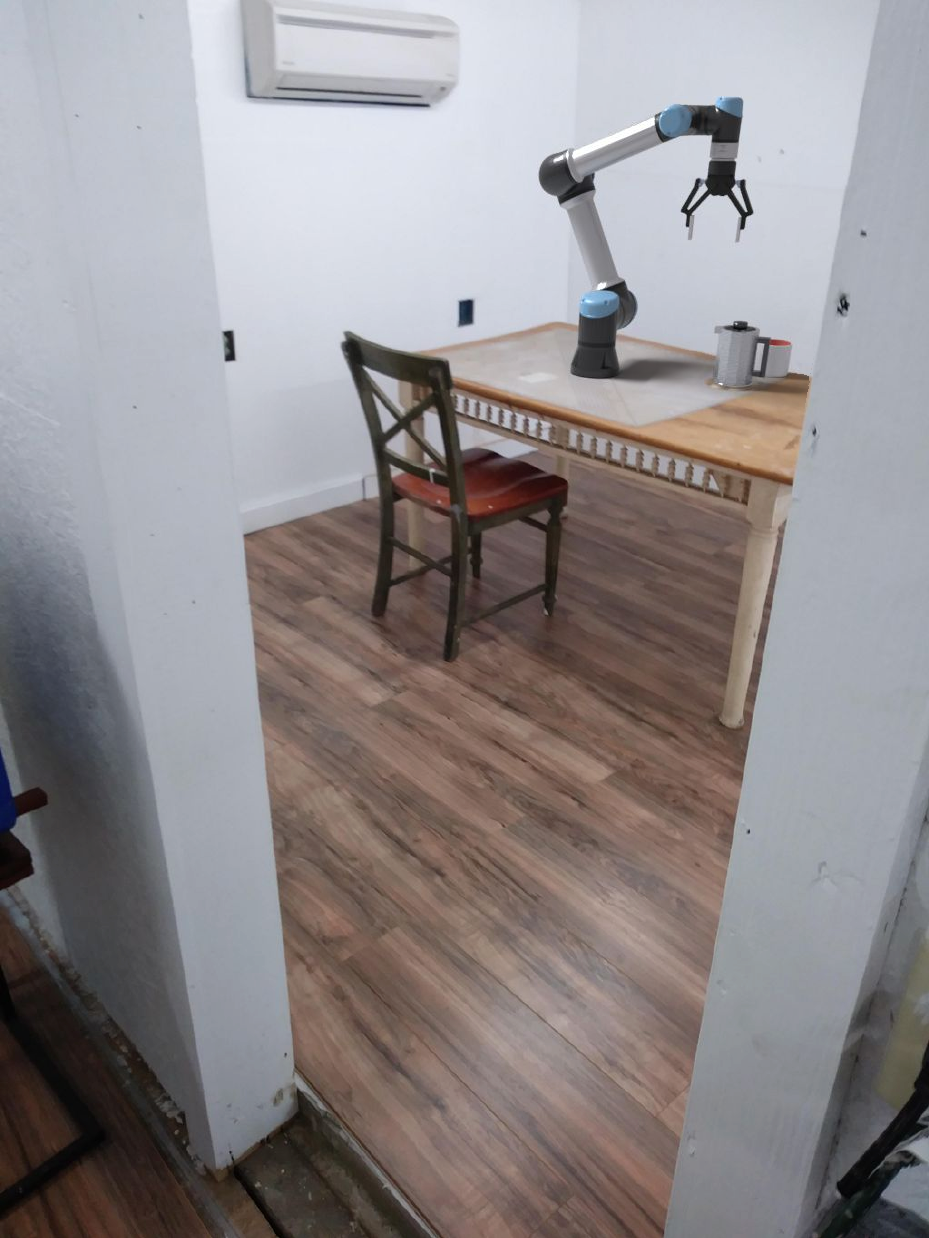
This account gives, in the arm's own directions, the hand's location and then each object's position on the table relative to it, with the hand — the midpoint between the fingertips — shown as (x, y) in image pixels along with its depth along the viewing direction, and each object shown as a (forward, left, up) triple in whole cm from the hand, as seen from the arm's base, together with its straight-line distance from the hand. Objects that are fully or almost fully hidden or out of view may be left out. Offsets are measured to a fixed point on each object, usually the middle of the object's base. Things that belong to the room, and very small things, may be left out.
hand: (713, 241), depth 278 cm
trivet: (+12, -10, -39) cm, 42 cm away
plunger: (+12, -10, -31) cm, 35 cm away
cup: (+21, +8, -39) cm, 45 cm away
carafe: (+12, -10, -38) cm, 41 cm away
